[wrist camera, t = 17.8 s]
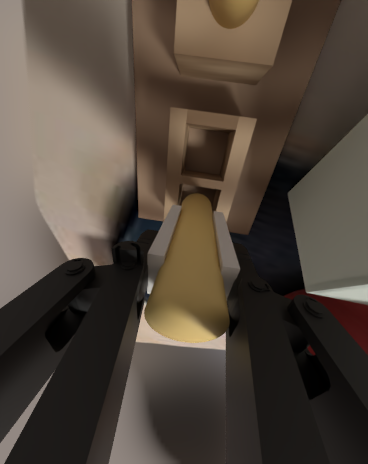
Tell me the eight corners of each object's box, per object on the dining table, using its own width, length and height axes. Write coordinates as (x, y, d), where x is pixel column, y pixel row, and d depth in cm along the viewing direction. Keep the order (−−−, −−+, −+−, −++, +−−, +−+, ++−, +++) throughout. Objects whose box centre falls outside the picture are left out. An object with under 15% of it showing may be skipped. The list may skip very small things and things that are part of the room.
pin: (183, 190, 15) (144, 284, 5) (214, 195, 15) (241, 301, 5) (179, 219, 17) (144, 335, 7) (208, 223, 17) (217, 348, 6)
